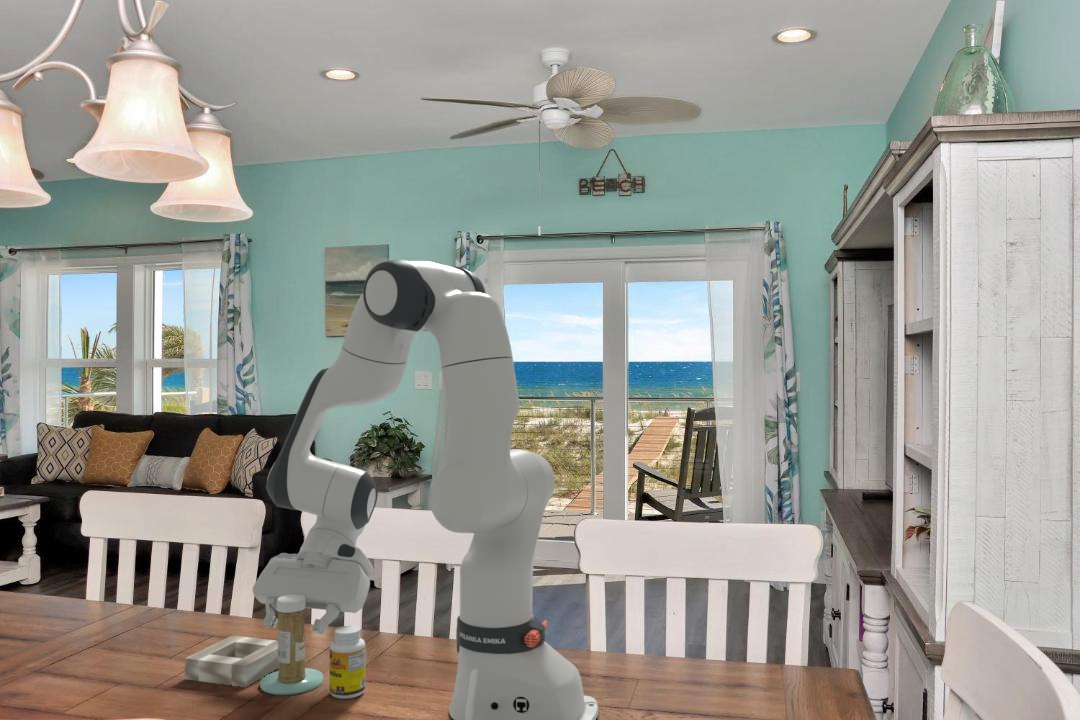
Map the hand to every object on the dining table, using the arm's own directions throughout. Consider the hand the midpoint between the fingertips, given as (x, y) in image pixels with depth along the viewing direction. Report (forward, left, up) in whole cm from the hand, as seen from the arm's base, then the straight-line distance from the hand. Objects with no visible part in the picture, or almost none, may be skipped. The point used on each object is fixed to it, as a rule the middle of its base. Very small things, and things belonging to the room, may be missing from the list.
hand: (292, 629), depth 137 cm
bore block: (+12, -2, -9) cm, 15 cm away
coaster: (0, 0, -9) cm, 9 cm away
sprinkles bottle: (0, 0, -8) cm, 8 cm away
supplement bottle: (-11, +1, -9) cm, 14 cm away
